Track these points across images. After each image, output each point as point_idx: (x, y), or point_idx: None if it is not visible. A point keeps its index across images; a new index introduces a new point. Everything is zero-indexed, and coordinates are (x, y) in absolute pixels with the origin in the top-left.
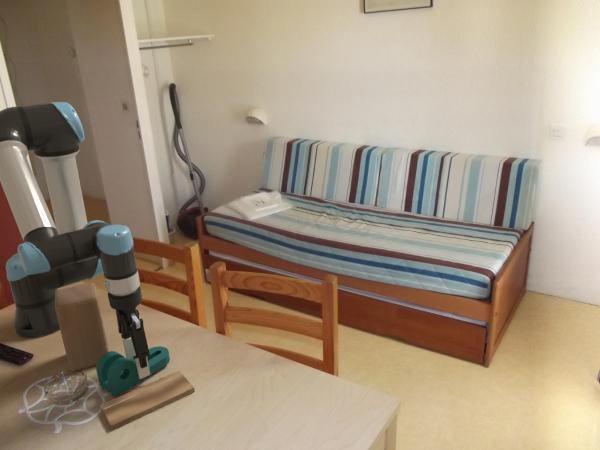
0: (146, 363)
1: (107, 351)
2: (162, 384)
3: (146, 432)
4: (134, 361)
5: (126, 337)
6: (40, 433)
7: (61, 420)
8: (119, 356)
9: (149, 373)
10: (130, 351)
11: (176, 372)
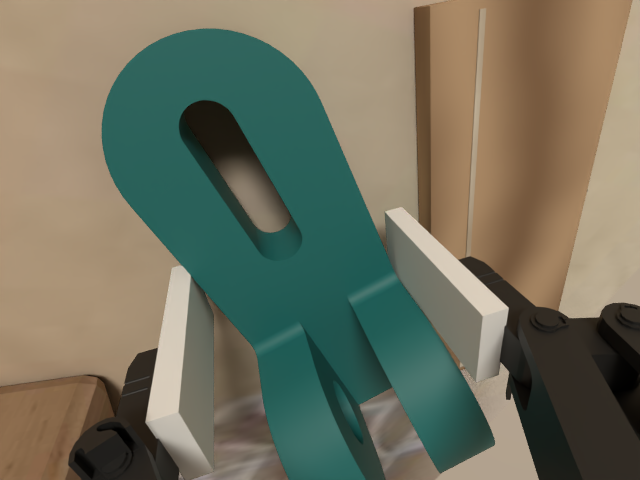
0: (495, 274)
1: (76, 432)
2: (483, 146)
3: (628, 235)
4: (253, 292)
5: (171, 475)
6: (415, 470)
7: (398, 444)
8: (345, 436)
9: (406, 214)
10: (202, 345)
11: (437, 32)
